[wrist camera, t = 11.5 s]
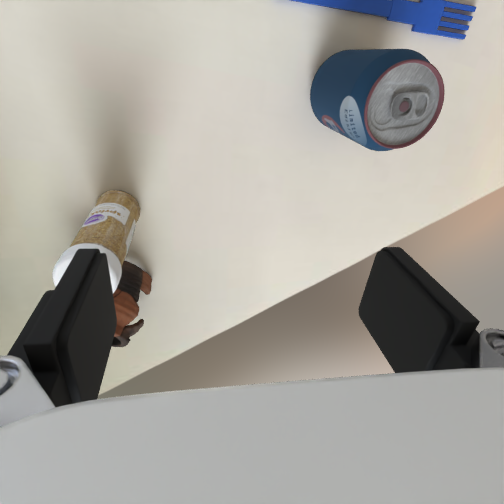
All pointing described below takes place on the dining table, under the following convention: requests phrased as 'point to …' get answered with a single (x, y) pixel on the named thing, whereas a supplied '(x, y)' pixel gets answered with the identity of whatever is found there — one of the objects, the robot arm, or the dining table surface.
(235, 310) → the dining table surface
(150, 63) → the dining table surface
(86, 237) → the sprinkles bottle
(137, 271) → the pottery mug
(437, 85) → the soda can
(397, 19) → the blue fork
